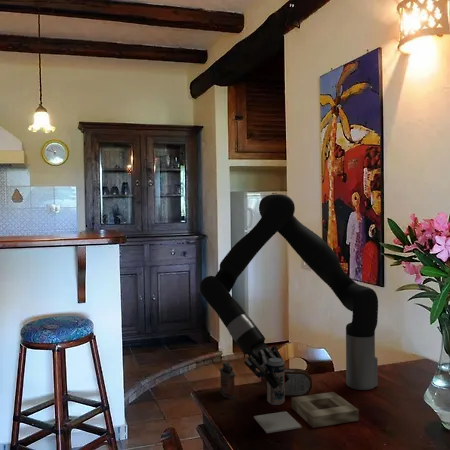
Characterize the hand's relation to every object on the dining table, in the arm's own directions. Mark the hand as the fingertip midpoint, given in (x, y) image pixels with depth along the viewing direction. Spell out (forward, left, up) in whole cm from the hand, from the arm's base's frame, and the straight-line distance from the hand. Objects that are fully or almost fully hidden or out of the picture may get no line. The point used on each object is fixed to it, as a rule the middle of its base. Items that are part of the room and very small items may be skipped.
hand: (281, 383), depth 134 cm
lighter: (+8, -25, -12) cm, 29 cm away
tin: (-10, -18, -12) cm, 24 cm away
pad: (+1, -1, -11) cm, 11 cm away
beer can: (+1, -2, -6) cm, 6 cm away
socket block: (-14, -2, -11) cm, 18 cm away
